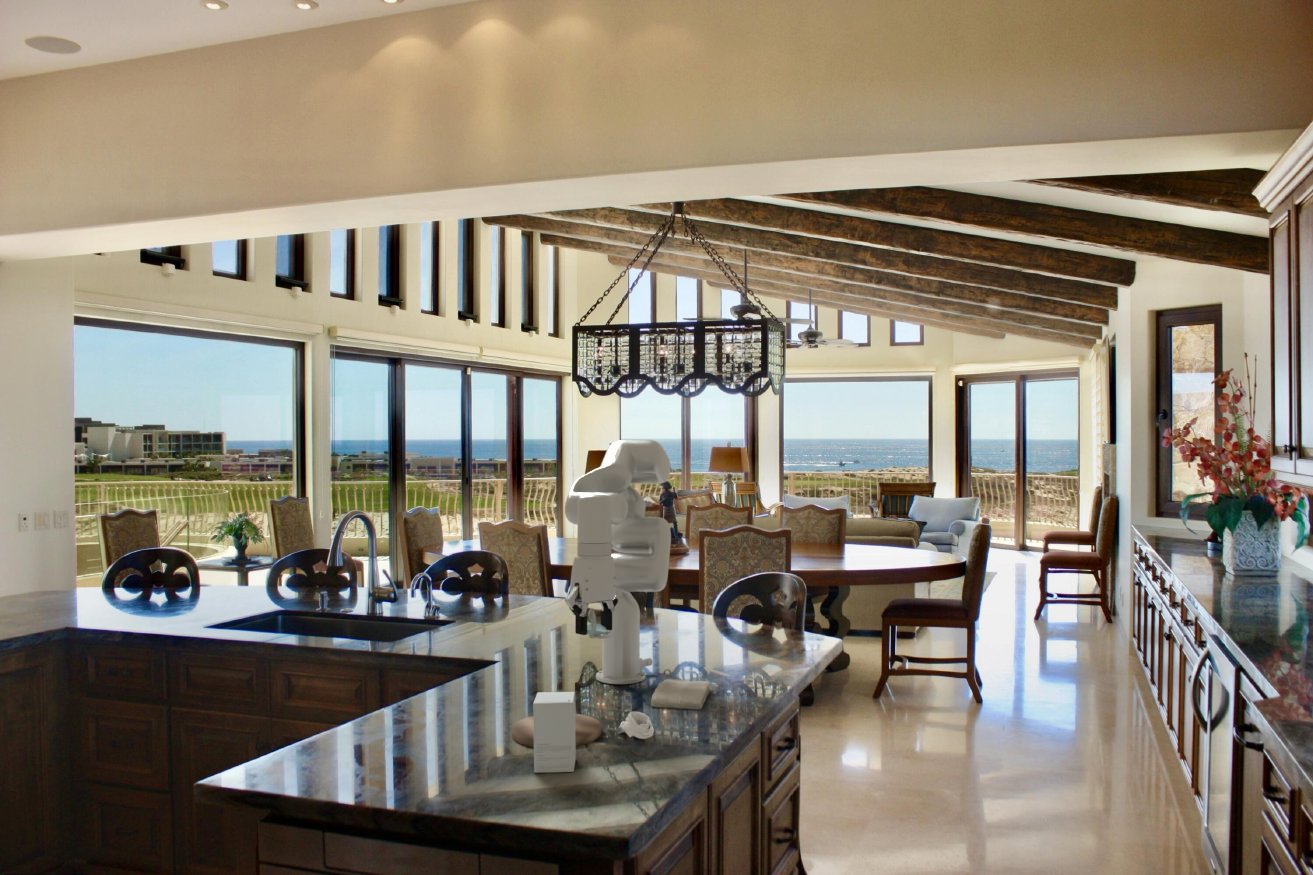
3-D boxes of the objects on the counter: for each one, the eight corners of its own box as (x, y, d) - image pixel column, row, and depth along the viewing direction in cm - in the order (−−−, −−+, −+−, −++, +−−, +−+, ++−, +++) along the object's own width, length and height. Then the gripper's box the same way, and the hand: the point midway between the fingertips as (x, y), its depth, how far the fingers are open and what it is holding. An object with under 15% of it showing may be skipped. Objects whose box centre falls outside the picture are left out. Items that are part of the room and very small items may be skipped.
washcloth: (711, 690, 213) (711, 677, 213) (702, 712, 196) (702, 698, 196) (662, 688, 215) (663, 675, 215) (650, 709, 198) (650, 695, 198)
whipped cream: (637, 731, 184) (637, 707, 185) (662, 734, 180) (662, 710, 181) (612, 738, 178) (611, 713, 179) (637, 741, 174) (636, 716, 174)
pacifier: (613, 634, 197) (586, 633, 197) (614, 606, 197) (587, 605, 198) (609, 641, 190) (581, 640, 190) (610, 612, 190) (582, 611, 190)
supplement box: (576, 758, 165) (576, 690, 165) (574, 772, 157) (574, 702, 158) (536, 758, 165) (537, 691, 165) (532, 773, 157) (532, 702, 157)
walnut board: (562, 714, 192) (562, 707, 192) (619, 733, 180) (619, 725, 180) (494, 733, 179) (494, 726, 179) (550, 754, 167) (550, 746, 167)
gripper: (611, 546, 203) (610, 624, 202) (552, 552, 190) (552, 634, 190) (634, 548, 198) (633, 628, 197) (575, 554, 185) (575, 639, 185)
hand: (593, 631), depth 194 cm, fingers closed on pacifier, 6 cm apart
